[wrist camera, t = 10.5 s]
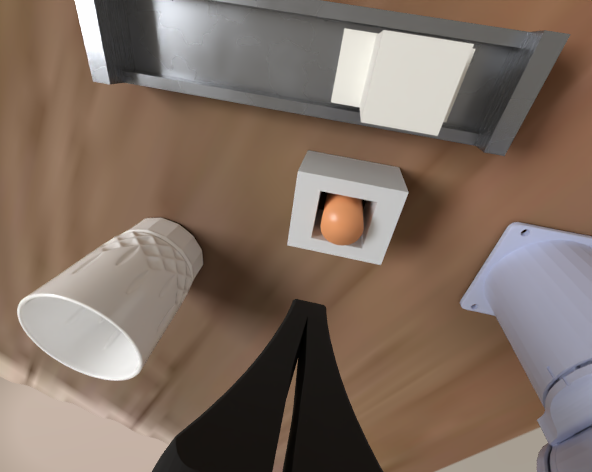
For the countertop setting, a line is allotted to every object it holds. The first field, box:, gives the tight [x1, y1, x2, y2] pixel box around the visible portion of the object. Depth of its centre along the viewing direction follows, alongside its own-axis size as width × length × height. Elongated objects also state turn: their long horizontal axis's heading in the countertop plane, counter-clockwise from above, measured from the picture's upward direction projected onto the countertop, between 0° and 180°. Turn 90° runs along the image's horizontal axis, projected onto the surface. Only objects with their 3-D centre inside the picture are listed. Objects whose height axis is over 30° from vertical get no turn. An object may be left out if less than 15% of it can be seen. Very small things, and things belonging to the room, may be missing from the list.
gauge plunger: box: [321, 192, 364, 246], centre depth 18 cm, size 2×2×4 cm
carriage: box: [331, 28, 475, 136], centre depth 13 cm, size 6×3×6 cm, turn 82°
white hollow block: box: [287, 150, 409, 265], centre depth 19 cm, size 6×5×4 cm
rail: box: [75, 0, 570, 156], centre depth 15 cm, size 22×5×3 cm, turn 82°
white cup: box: [17, 218, 203, 381], centre depth 22 cm, size 8×8×10 cm
